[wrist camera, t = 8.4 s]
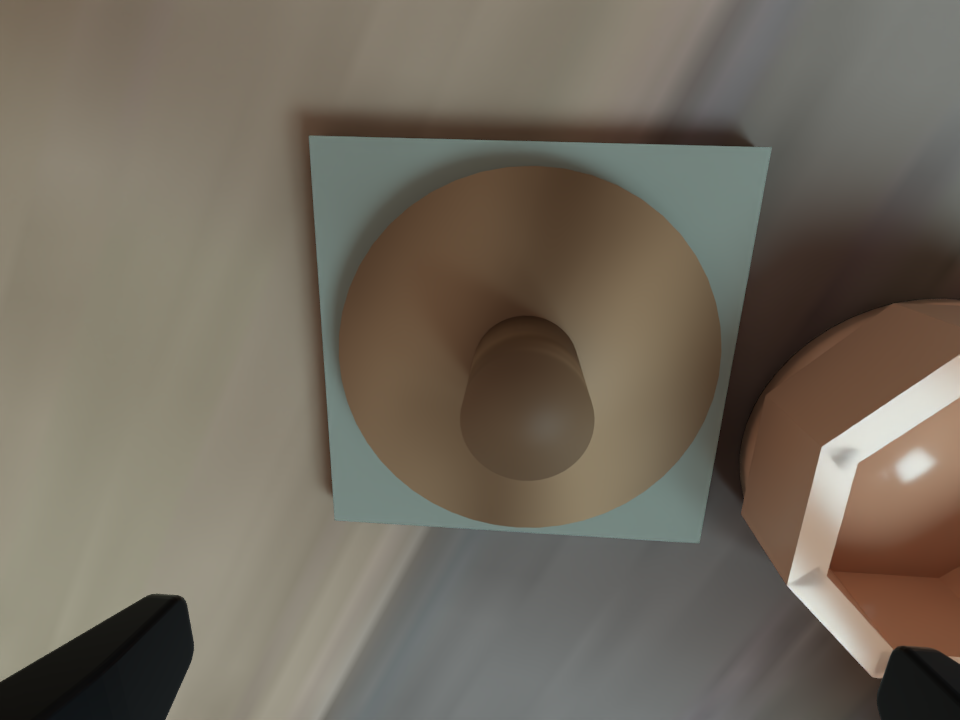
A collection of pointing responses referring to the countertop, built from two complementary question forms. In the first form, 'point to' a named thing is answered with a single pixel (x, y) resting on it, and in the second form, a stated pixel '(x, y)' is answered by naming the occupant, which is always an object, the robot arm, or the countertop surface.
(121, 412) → the countertop surface
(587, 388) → the lid
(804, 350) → the bowl
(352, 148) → the mat
